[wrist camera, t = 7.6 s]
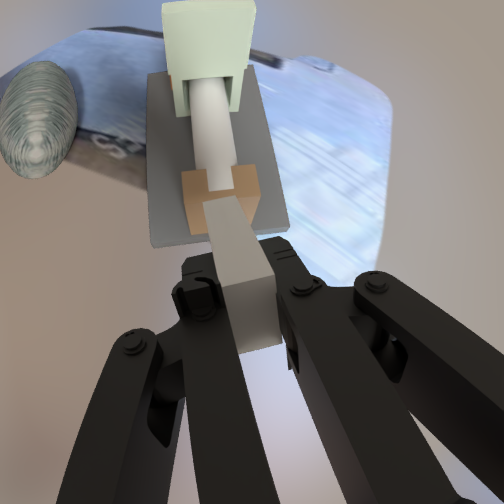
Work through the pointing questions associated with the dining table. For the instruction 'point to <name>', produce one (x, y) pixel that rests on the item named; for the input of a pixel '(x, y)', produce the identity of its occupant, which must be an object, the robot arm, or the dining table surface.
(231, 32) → the sleeve
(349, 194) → the dining table surface
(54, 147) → the grey rounded lump
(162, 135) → the rig
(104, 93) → the dining table surface
